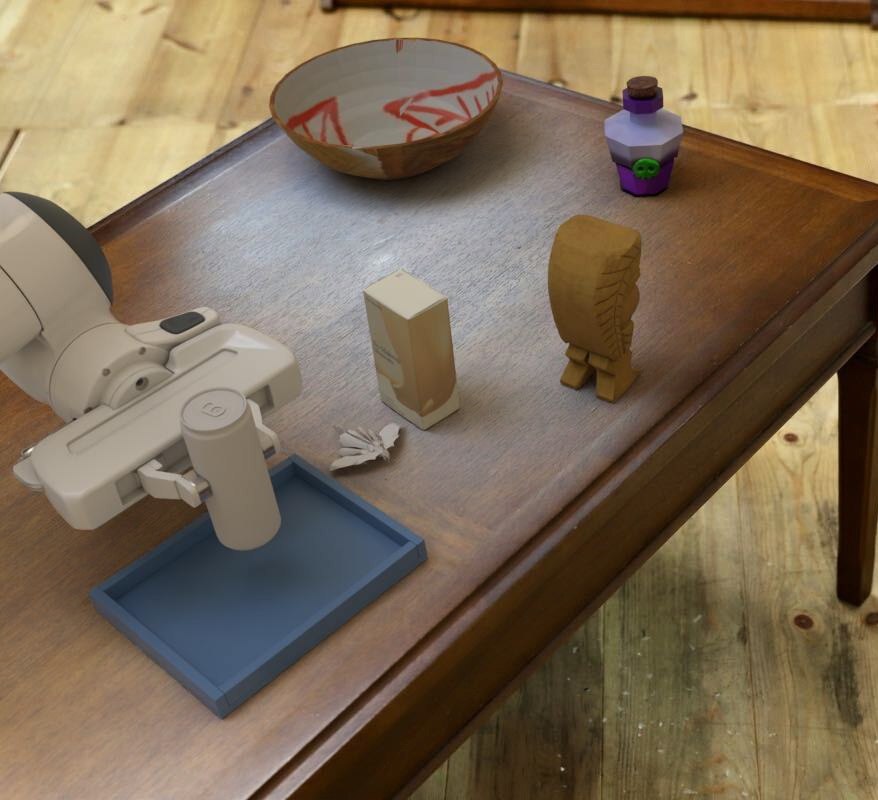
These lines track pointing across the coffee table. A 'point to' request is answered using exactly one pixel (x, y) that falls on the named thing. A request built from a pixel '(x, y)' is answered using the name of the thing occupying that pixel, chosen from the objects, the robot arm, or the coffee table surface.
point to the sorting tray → (258, 587)
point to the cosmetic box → (412, 347)
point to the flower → (365, 445)
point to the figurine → (595, 301)
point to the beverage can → (231, 467)
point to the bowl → (387, 105)
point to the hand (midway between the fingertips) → (238, 471)
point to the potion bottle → (643, 139)
